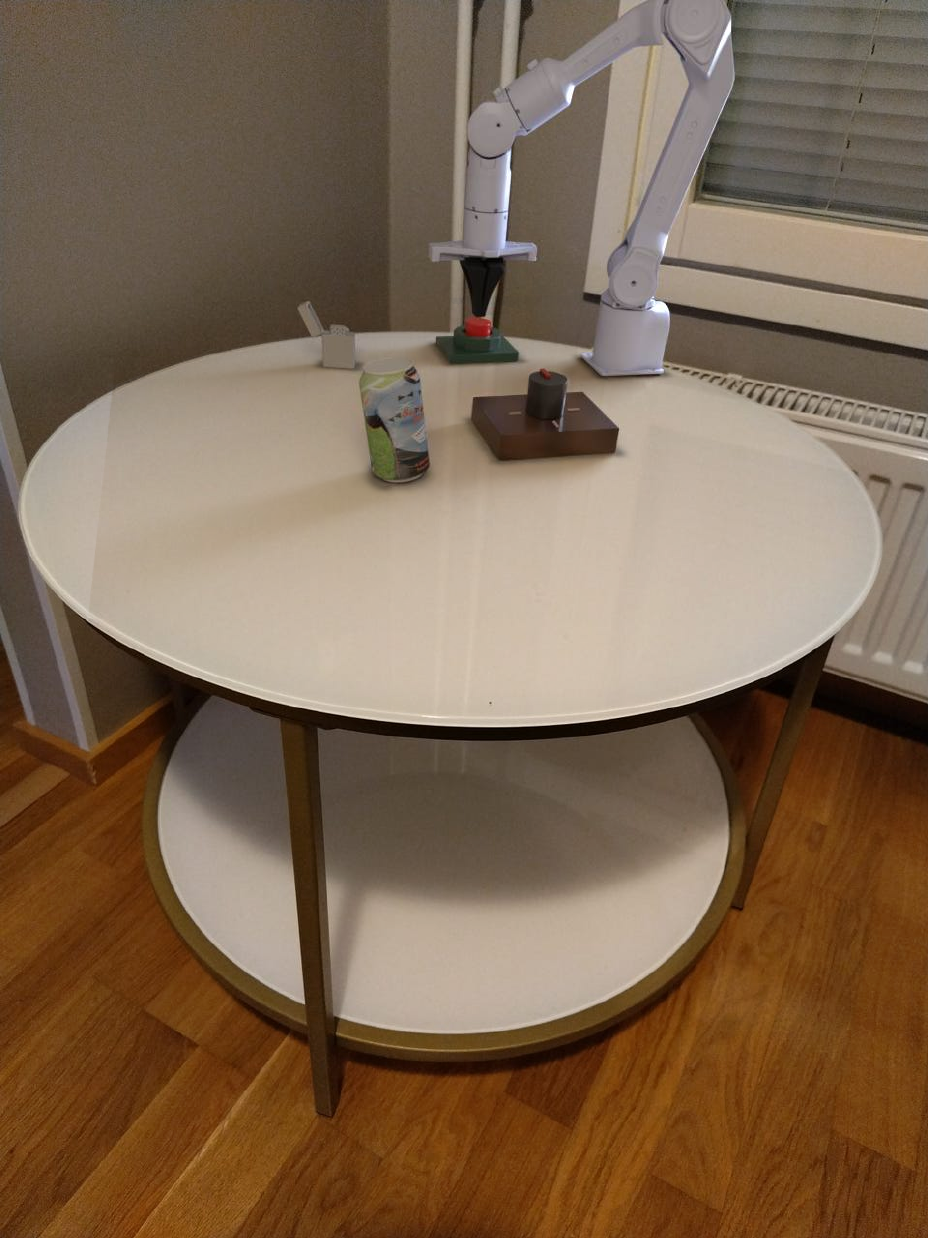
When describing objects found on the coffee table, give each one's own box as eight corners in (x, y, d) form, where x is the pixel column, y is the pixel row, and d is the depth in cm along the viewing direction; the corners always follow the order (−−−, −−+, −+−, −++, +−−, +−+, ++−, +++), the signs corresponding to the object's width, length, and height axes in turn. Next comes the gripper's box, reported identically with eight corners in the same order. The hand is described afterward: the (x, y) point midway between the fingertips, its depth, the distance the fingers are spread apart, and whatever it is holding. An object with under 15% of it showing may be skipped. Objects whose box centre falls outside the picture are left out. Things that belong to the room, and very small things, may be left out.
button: (485, 329, 123) (486, 317, 122) (493, 337, 120) (494, 325, 119) (461, 330, 122) (462, 317, 121) (468, 338, 119) (469, 325, 118)
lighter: (355, 364, 116) (354, 303, 111) (353, 368, 114) (352, 307, 110) (302, 360, 116) (299, 299, 111) (300, 364, 115) (297, 303, 110)
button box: (500, 342, 127) (502, 321, 125) (518, 361, 121) (520, 339, 119) (435, 344, 124) (436, 323, 123) (449, 363, 118) (450, 342, 117)
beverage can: (421, 493, 87) (425, 378, 80) (352, 483, 88) (349, 368, 81) (435, 467, 92) (440, 357, 85) (369, 457, 93) (369, 347, 86)
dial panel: (579, 414, 107) (582, 389, 105) (615, 452, 98) (619, 426, 96) (470, 420, 103) (472, 395, 101) (498, 460, 95) (501, 434, 93)
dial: (569, 418, 98) (574, 381, 95) (532, 420, 97) (537, 383, 94) (555, 403, 101) (559, 367, 99) (520, 405, 100) (523, 368, 97)
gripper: (439, 214, 107) (435, 325, 115) (549, 215, 110) (537, 322, 118) (426, 202, 112) (422, 309, 120) (531, 203, 116) (520, 306, 124)
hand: (478, 314), depth 119 cm, fingers closed
